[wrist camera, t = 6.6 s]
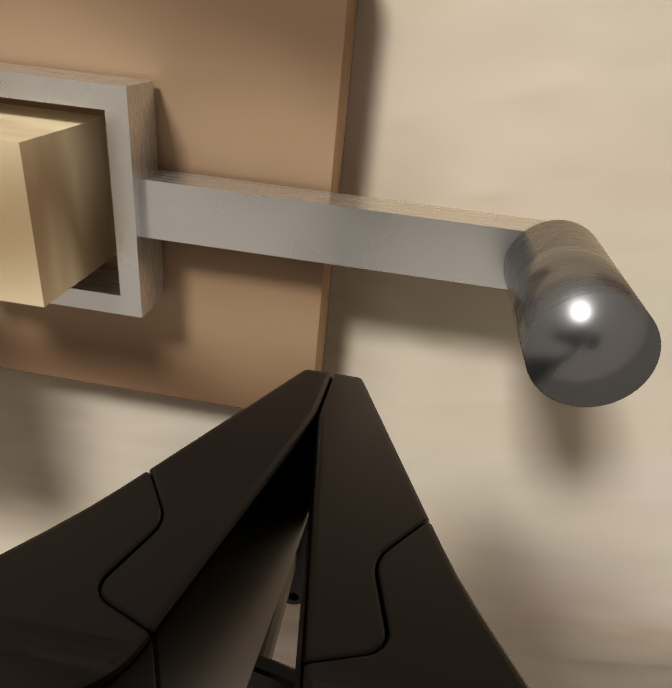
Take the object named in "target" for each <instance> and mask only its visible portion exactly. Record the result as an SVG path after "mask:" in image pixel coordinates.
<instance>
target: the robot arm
mask: <svg viewBox="0 0 672 688" xmlns="http://www.w3.org/2000/svg"><path fill="white" fill-rule="evenodd" d="M287 603H289V604H300V603H301V607H300V620H299V632H298V644H297V656H296V668H295V669H294V668H292V667H289V666H287V665H284V664H282V663H279V662H277V661H274V660H272V657H273V653H274V649H275V645H276V641H277V638H278V634H279V630H280V626H281V622H282V619H283V615H284V611H285V607H286V604H287ZM0 688H529V687H528V686H527V684H526V683H525V681H524V680H523V678H522V676H521V675H520V673H519V672H518V670H517V669H516V667H515V666H514V664H513V663H512V661H511V660H510V658H509V657H508V655H507V654H506V652H505V651H504V649H503V647H502V646H501V644H500V643H499V641H498V640H497V638H496V637H495V635H494V634H493V632H492V631H491V629H490V628H489V626H488V625H487V623H486V622H485V620H484V618H483V617H482V615H481V614H480V612H479V611H478V609H477V607H476V606H475V604H474V602H473V601H472V599H471V598H470V596H469V594H468V593H467V591H466V590H465V588H464V586H463V585H462V583H461V581H460V580H459V578H458V576H457V574H456V572H455V570H454V569H453V567H452V565H451V563H450V561H449V559H448V557H447V555H446V553H445V551H444V550H443V548H442V546H441V544H440V541H439V539H438V537H437V535H436V533H435V531H434V529H433V527H432V525H431V524H430V523H429V519H428V517H427V515H426V513H425V511H424V508H423V506H422V504H421V502H420V500H419V498H418V496H417V494H416V492H415V490H414V487H413V485H412V483H411V481H410V479H409V477H408V475H407V473H406V471H405V469H404V466H403V464H402V462H401V460H400V458H399V456H398V454H397V452H396V450H395V448H394V446H393V443H392V441H391V439H390V437H389V435H388V433H387V431H386V429H385V427H384V425H383V422H382V420H381V418H380V416H379V414H378V412H377V410H376V408H375V406H374V404H373V401H372V399H371V397H370V395H369V393H368V391H367V389H366V387H365V385H364V383H363V381H362V379H360V378H358V377H352V376H346V375H339V374H337V375H334V377H333V378H332V375H331V374H330V373H327V372H321V371H314V370H304V371H302V372H300V373H299V374H297V375H296V376H294V377H293V378H291V379H289V380H288V381H286V382H285V383H283V384H282V385H280V386H279V387H277V388H276V389H274V390H272V391H271V392H269V393H268V394H266V395H265V396H263V397H262V398H260V399H259V400H257V401H255V402H254V403H252V404H251V405H249V406H248V407H246V408H245V409H243V410H241V411H240V412H238V413H237V414H235V415H234V416H232V417H231V418H229V419H228V420H226V421H224V422H223V423H221V424H220V425H218V426H217V427H215V428H214V429H212V430H210V431H209V432H207V433H206V434H204V435H203V436H201V437H200V438H198V439H197V440H195V441H193V442H192V443H190V444H189V445H187V446H186V447H184V448H183V449H181V450H179V451H178V452H176V453H175V454H173V455H172V456H170V457H169V458H167V459H166V460H164V461H162V462H161V463H159V464H158V465H156V466H155V467H153V468H152V469H150V472H149V473H148V472H145V473H143V474H142V475H140V476H139V477H137V478H136V479H134V480H133V481H131V482H130V483H128V484H126V485H125V486H123V487H122V488H120V489H118V490H117V491H115V492H113V493H112V494H110V495H108V496H107V497H105V498H104V499H102V500H100V501H99V502H97V503H95V504H94V505H92V506H90V507H89V508H87V509H85V510H83V511H81V512H80V513H78V514H76V515H74V516H72V517H71V518H69V519H67V520H65V521H63V522H61V523H60V524H58V525H56V526H54V527H52V528H50V529H49V530H47V531H45V532H43V533H41V534H39V535H37V536H35V537H33V538H31V539H29V540H28V541H26V542H24V543H22V544H20V545H18V546H16V547H14V548H12V549H10V550H8V551H6V552H5V553H3V554H1V555H0Z"/></svg>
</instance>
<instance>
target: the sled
mask: <svg viewBox="0 0 672 688" xmlns="http://www.w3.org/2000/svg"><path fill="white" fill-rule="evenodd" d="M0 97H5V98H13V99H21V100H29V101H37V102H45V103H53V104H61V105H69V106H77V107H85V108H92V109H100V110H105V121H106V132H107V144H108V156H109V167H110V179H111V190H112V202H113V213H114V225H115V236H116V248H117V260H118V271H114V270H107V269H101V268H98V269H96V270H95V271H93V272H92V273H91V274H89V275H88V276H87V277H85V278H84V279H83V280H81V281H80V282H78V283H77V284H76V285H74V286H73V287H72V288H70V289H69V290H67V291H66V292H65V293H63V294H62V295H61V296H59V297H58V298H56V299H55V300H54V301H52V302H51V304H57V305H64V306H70V307H76V308H83V309H89V310H96V311H102V312H108V313H115V314H121V315H128V316H134V317H140V318H142V317H143V316H144V315H145V314H146V313H147V312H148V311H149V310H150V309H151V308H152V307H153V306H154V305H155V304H156V303H157V302H158V301H159V300H160V299H161V298H162V297H163V296H164V282H163V262H162V241H161V240H166V241H173V242H180V243H187V244H194V245H201V246H208V247H215V248H222V249H229V250H236V251H243V252H250V253H256V254H263V255H270V256H277V257H284V258H291V259H298V260H305V261H312V262H319V263H326V264H333V265H340V266H347V267H354V268H360V269H367V270H374V271H381V272H388V273H395V274H402V275H409V276H416V277H423V278H430V279H437V280H444V281H451V282H458V283H465V284H471V285H478V286H485V287H492V288H499V289H506V290H508V295H509V299H510V303H511V307H512V311H513V315H514V319H515V323H516V327H517V332H518V336H519V340H520V344H521V348H522V352H523V356H524V360H525V364H526V368H527V372H528V374H529V376H530V378H531V380H532V382H533V383H534V385H535V386H536V387H537V388H538V389H539V390H540V391H541V392H542V393H544V394H545V395H546V396H548V397H549V398H551V399H553V400H555V401H557V402H560V403H563V404H566V405H571V406H577V407H595V406H601V405H606V404H610V403H613V402H616V401H618V400H620V399H623V398H625V397H626V396H628V395H630V394H632V393H633V392H634V391H636V390H637V389H638V388H640V387H641V386H642V385H643V384H644V383H645V382H646V381H647V379H648V378H649V377H650V376H651V374H652V373H653V371H654V369H655V367H656V365H657V363H658V360H659V357H660V351H661V339H660V333H659V330H658V328H657V325H656V324H655V322H654V320H653V319H652V317H651V316H650V314H649V313H648V311H647V310H646V309H645V307H644V306H643V304H642V303H641V302H640V300H639V299H638V297H637V296H636V294H635V293H634V292H633V290H632V289H631V287H630V286H629V284H628V283H627V282H626V280H625V279H624V277H623V276H622V274H621V273H620V272H619V270H618V269H617V267H616V266H615V264H614V263H613V262H612V260H611V259H610V257H609V256H608V255H607V253H606V252H605V250H604V249H603V247H602V246H601V245H600V243H599V242H598V240H597V239H596V238H595V236H594V235H593V234H592V233H591V232H590V231H589V230H588V229H586V228H585V227H583V226H581V225H579V224H577V223H574V222H571V221H566V220H551V221H542V220H535V219H527V218H520V217H513V216H505V215H498V214H490V213H483V212H475V211H468V210H460V209H453V208H445V207H438V206H430V205H423V204H415V203H408V202H400V201H393V200H385V199H378V198H370V197H363V196H355V195H348V194H340V193H333V192H325V191H318V190H310V189H303V188H295V187H288V186H281V185H273V184H266V183H258V182H251V181H243V180H236V179H228V178H221V177H213V176H206V175H198V174H191V173H183V172H176V171H168V170H161V169H158V159H157V138H156V117H155V97H154V80H146V79H137V78H129V77H121V76H112V75H104V74H96V73H87V72H79V71H71V70H62V69H54V68H46V67H38V66H29V65H21V64H13V63H4V62H0Z"/></svg>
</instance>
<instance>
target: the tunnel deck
mask: <svg viewBox="0 0 672 688" xmlns="http://www.w3.org/2000/svg"><path fill="white" fill-rule="evenodd" d="M357 2H358V0H0V62H4V63H13V64H21V65H29V66H38V67H46V68H54V69H62V70H71V71H79V72H87V73H96V74H104V75H112V76H121V77H129V78H137V79H146V80H154V97H155V117H156V138H157V159H158V169H161V170H168V171H176V172H183V173H191V174H198V175H206V176H213V177H221V178H228V179H236V180H243V181H251V182H258V183H266V184H273V185H281V186H288V187H295V188H303V189H310V190H318V191H325V192H333V193H339V190H340V180H341V169H342V159H343V148H344V138H345V128H346V117H347V107H348V96H349V86H350V75H351V65H352V55H353V44H354V34H355V23H356V13H357ZM0 103H3V104H11V105H19V106H27V107H34V108H42V109H50V110H58V111H66V112H74V113H82V114H90V115H98V116H105V110H100V109H92V108H85V107H77V106H69V105H61V104H53V103H45V102H37V101H29V100H21V99H13V98H5V97H0ZM161 241H162V262H163V282H164V296H163V297H162V298H161V299H160V300H159V301H158V302H157V303H156V304H155V305H154V306H153V307H152V308H151V309H150V310H149V311H148V312H147V313H146V314H145V315H144V316H143V317H142V318H140V317H134V316H128V315H121V314H115V313H108V312H102V311H96V310H89V309H83V308H76V307H70V306H64V305H57V304H51V303H50V304H48V305H47V306H46V307H39V306H32V305H26V304H20V303H13V302H7V301H0V367H1V368H7V369H13V370H19V371H25V372H30V373H36V374H42V375H48V376H54V377H60V378H66V379H72V380H78V381H84V382H90V383H96V384H102V385H108V386H114V387H120V388H126V389H132V390H138V391H144V392H150V393H156V394H162V395H168V396H174V397H180V398H186V399H192V400H198V401H204V402H210V403H216V404H222V405H227V406H233V407H239V408H246V407H248V406H249V405H251V404H252V403H254V402H255V401H257V400H259V399H260V398H262V397H263V396H265V395H266V394H268V393H269V392H271V391H272V390H274V389H276V388H277V387H279V386H280V385H282V384H283V383H285V382H286V381H288V380H289V379H291V378H293V377H294V376H296V375H297V374H299V373H300V372H302V371H304V370H314V371H321V372H322V367H323V357H324V346H325V336H326V326H327V315H328V305H329V294H330V284H331V273H332V264H326V263H319V262H312V261H305V260H298V259H291V258H284V257H277V256H270V255H263V254H256V253H250V252H243V251H236V250H229V249H222V248H215V247H208V246H201V245H194V244H187V243H180V242H173V241H166V240H161ZM99 268H101V269H107V270H114V271H118V260H117V255H115V256H114V257H113V258H111V259H110V260H109V261H107V262H106V263H104V264H103V265H102V266H100V267H99Z"/></svg>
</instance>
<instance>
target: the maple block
mask: <svg viewBox="0 0 672 688" xmlns="http://www.w3.org/2000/svg"><path fill="white" fill-rule="evenodd" d="M115 255H117V248H116V236H115V225H114V213H113V202H112V190H111V179H110V167H109V156H108V144H107V132H106V121H105V116H98V115H90V114H82V113H74V112H66V111H58V110H50V109H42V108H34V107H27V106H19V105H11V104H3V103H0V301H7V302H13V303H20V304H26V305H32V306H39V307H46V306H47V305H48V304H50V303H51V302H52V301H54V300H55V299H56V298H58V297H59V296H61V295H62V294H63V293H65V292H66V291H67V290H69V289H70V288H72V287H73V286H74V285H76V284H77V283H78V282H80V281H81V280H83V279H84V278H85V277H87V276H88V275H89V274H91V273H92V272H93V271H95V270H96V269H98V268H99V267H100V266H102V265H103V264H104V263H106V262H107V261H109V260H110V259H111V258H113V257H114V256H115Z"/></svg>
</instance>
